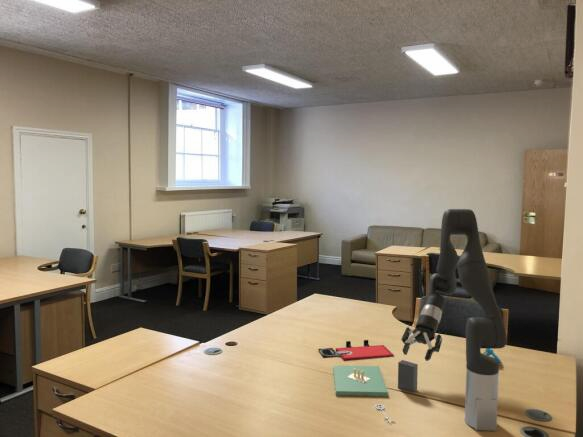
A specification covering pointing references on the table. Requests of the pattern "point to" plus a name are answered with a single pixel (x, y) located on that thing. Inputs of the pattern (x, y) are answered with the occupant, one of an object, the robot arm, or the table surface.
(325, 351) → the red board with handle
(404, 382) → the block
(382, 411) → the key
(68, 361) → the table surface
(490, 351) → the gear
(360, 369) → the header board
